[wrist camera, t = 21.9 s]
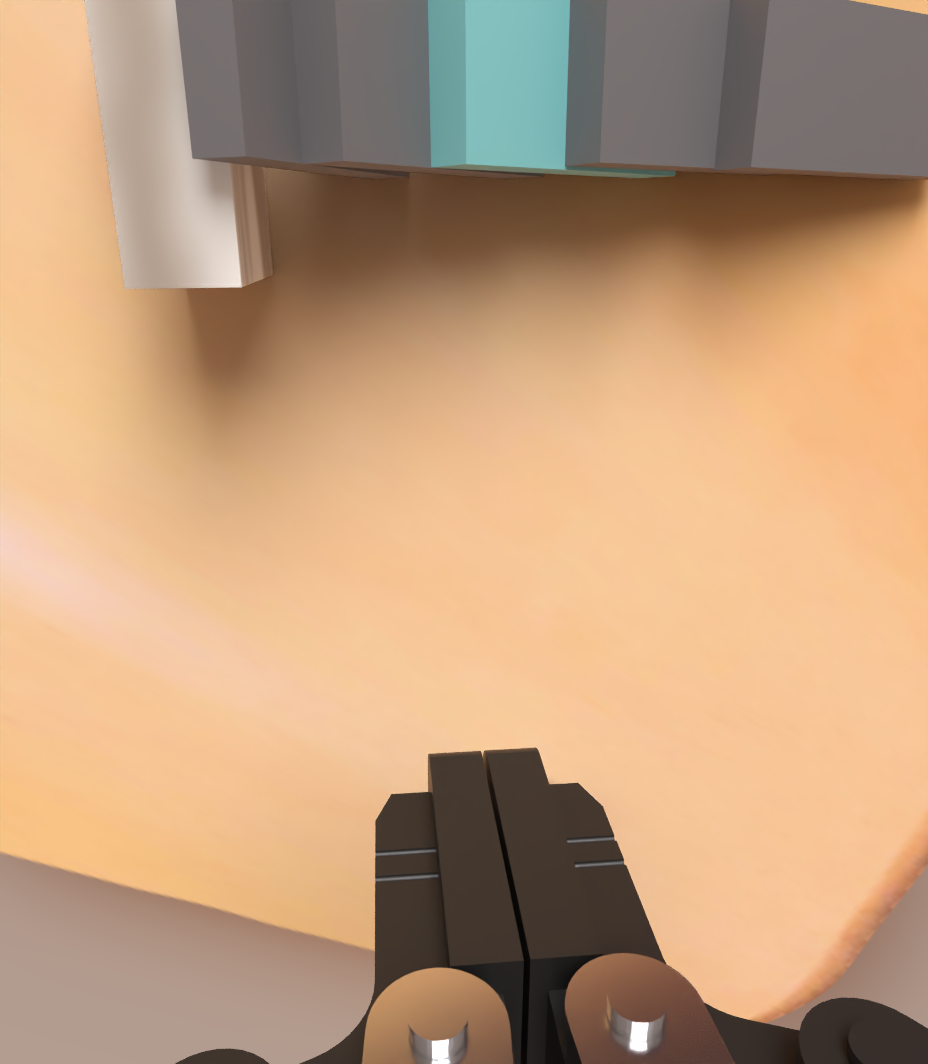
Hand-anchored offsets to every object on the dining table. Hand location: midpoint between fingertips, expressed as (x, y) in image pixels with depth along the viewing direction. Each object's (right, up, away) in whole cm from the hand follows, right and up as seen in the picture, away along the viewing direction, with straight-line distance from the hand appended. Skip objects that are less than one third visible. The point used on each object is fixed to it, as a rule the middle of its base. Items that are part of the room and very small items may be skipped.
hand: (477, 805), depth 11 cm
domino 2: (+2, +22, +24) cm, 33 cm away
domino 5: (+21, +23, +25) cm, 40 cm away
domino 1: (-4, +22, +24) cm, 33 cm away
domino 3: (+8, +22, +25) cm, 34 cm away
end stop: (-11, +22, +24) cm, 34 cm away
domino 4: (+14, +23, +25) cm, 37 cm away
